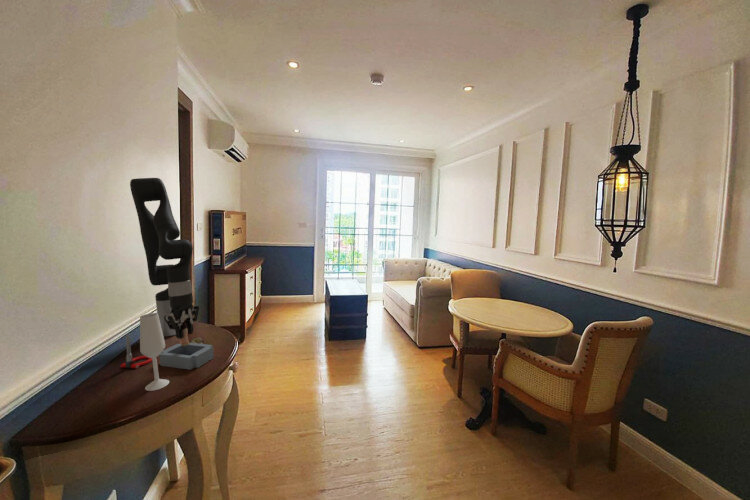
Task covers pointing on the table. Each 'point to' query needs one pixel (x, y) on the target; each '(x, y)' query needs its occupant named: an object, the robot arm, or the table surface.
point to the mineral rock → (197, 341)
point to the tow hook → (130, 361)
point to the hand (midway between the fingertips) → (185, 335)
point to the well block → (186, 355)
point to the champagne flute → (152, 346)
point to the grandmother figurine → (184, 333)
